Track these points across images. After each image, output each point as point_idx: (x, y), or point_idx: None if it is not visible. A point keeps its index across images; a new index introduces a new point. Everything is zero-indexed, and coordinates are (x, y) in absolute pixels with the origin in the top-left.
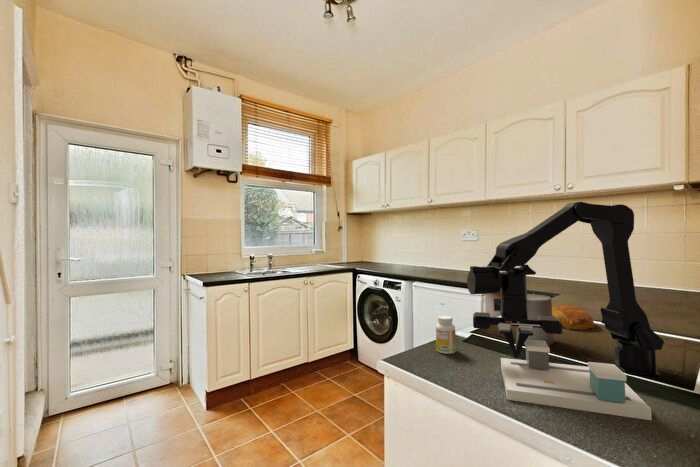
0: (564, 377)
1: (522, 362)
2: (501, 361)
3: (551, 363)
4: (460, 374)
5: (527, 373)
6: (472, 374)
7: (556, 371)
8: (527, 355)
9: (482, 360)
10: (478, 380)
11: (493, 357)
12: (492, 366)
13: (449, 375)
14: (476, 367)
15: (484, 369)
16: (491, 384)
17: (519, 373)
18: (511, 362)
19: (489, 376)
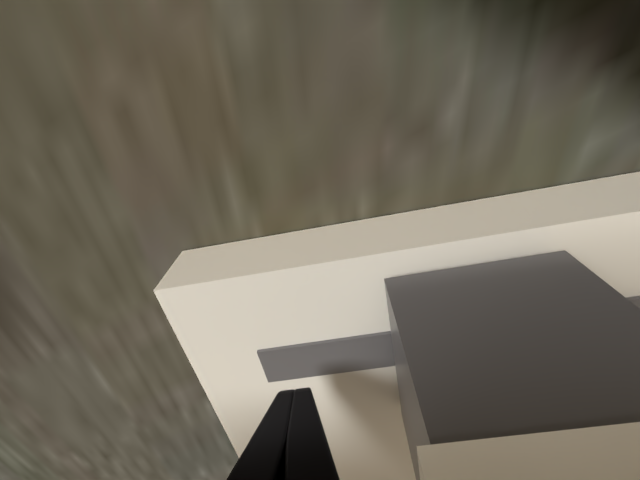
0: None
1: (351, 313)
2: (190, 362)
3: (625, 227)
4: (53, 449)
5: (386, 463)
6: (99, 430)
7: None
8: (413, 440)
9: (6, 200)
10: (158, 467)
11: (32, 54)
12: (135, 287)
13: (21, 472)
14: (59, 346)
15: (116, 353)
16: (223, 476)
17: (341, 476)
18: (267, 359)
19: (183, 418)
